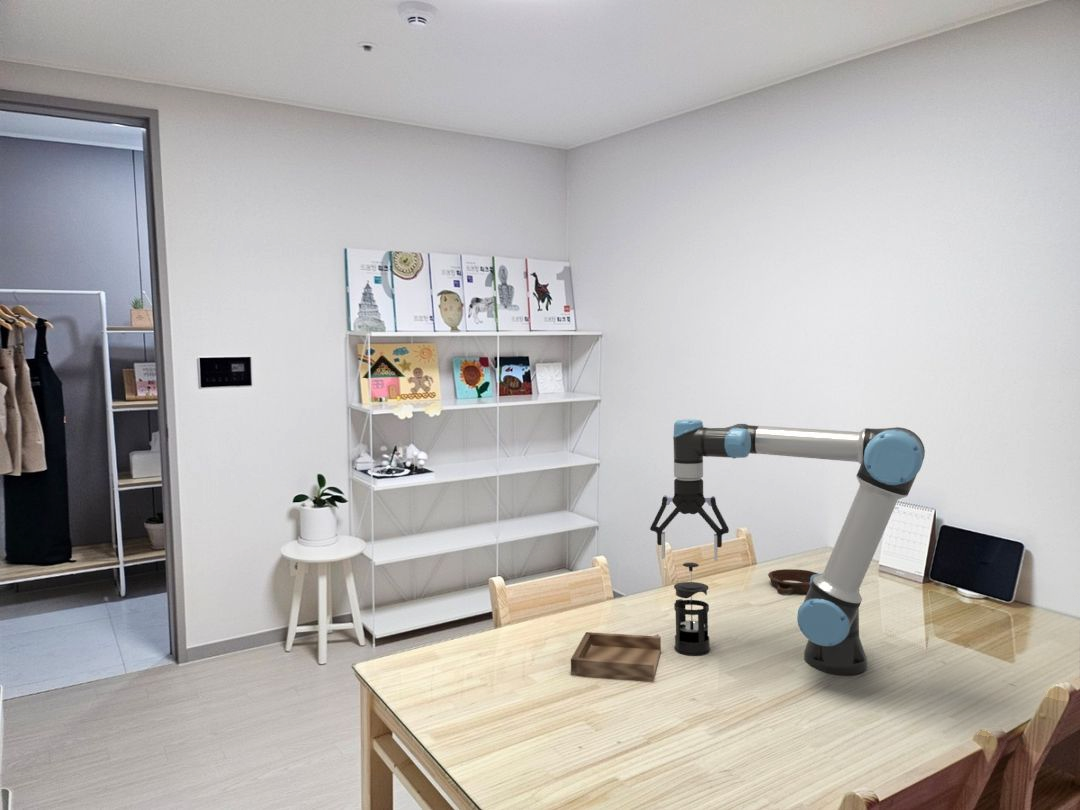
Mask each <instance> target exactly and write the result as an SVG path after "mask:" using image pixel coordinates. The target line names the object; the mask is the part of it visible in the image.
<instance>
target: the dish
mask: <svg viewBox="0 0 1080 810" xmlns="http://www.w3.org/2000/svg"><path fill="white" fill-rule="evenodd" d="M814 574H819V572H814V571H811V570H807V569H798V568H796V569H792V568H791V569H790V568H789V569H787V568H786V569H777V570H776V569H775V570H771V571H769V572H768V574H767V576H768V577H769V579H770V582H771V585H772V587H773V588H775V589H777V592H778V593H780V594H783V595H788V594H793V595H807V593H808V590H809V588H810V585H809V583H810V578H811V576H812V575H814Z"/></svg>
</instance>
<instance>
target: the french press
mask: <svg viewBox="0 0 1080 810" xmlns="http://www.w3.org/2000/svg"><path fill="white" fill-rule="evenodd" d="M682 566H683V567H685V568H688V571H689V579H690V580H689V581H682V582H679V583H676V584H675V583H674V585H673V589H675V595H676V596H677V597H678V598H680V599H675V602H674V607H673V608H674V612H675V635H674V647H673V648H674V651H675V652H676V653H677V654H680V655H683V656H684V655H685V656H690V657H694V656H695V657H699V656H705V655H707V654H709V653H710V652H711V647H710V636H709V630H708V629H709V625H708V622H709V621H708V614H709V613H708V612H709V611H710V605H709V603H708V602H705V601H702V600H698V599H693V596H694V595H695V594H698V593H703V594H704V595H705V596H707V595H708V590H709V586H708V585H707V584H705V583H702V582H695V581H693V579H692V578H693V576H692V572H693V571H694V570H693V569H694V568H697V567H699V566H700V565H699V563H696V562H684V563H683V564H682ZM689 605H690V609H686V606H689ZM693 606H700V607H702V608H700V609H693ZM686 616H690V620H687V618H686ZM693 616H697V620H693Z"/></svg>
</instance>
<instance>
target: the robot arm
mask: <svg viewBox="0 0 1080 810" xmlns="http://www.w3.org/2000/svg"><path fill="white" fill-rule="evenodd" d="M673 424H674V425H673V436H672V437H673V438H672V439H673V477H675V479H674V480H673V481H674V482H673V491H674V494H673V496H667V495H666V494H665V495H663V497H662V500H661V506H660V507H659V509H658V512H657V513H656V516H655V517H654V520H653V522H652V524H651V526H649V530H650V531H651V532H655V533H656V543H657V545H658V546H661V547H660V548H661V559H665V558H666V531H664V530H665V529H666V528H667V527H668V526H669V524H670V523H671V522H672V521H673V520H674V519H675V517H676V516H677V515H678V514H679V513H681V514H683V515H689V514H691V515H696V514H699V515H700V516H701V517H702V519H703V520H704V521H705V522H706V524H707V525H709V527H710V528H711V529H712V531H714V534H713V542H714V543H713V549H714V551H713V553H714V554H713V555H714V559H713V561H715V562H718V548H722V546H723V545H722V544H723V535H724V534H728V533H729V531H730V529H729V526H728V525H727V523H726V520H725V519H724V517H723V514H722V513H721V510H720V509H719V508H718V505H717V500H716V499H717V498H716V496H711V497H705V496H704V480H703V477H704V457H707V458H708V457H711V458H732V459H741V458H742V459H745V458H747V457H748V456H749V454H754V455H757V454H759V455H768V456H769V455H770V456H780V457H781V456H782V457H784V456H785V457H794V458H806V459H817V460H819V459H820V460H830V461H831V460H832V461H843V462H852V463H858V464H859V465H860V466H859V468H858V471H857V473H856V479H857V481H858V483H859V487H858V488H857V491H856V494H855V497H854V499H853V501H852V502H851V505H850V508H849V510H848V513H847V516H846V518H845V520H844V523H843V525H842V527H841V529H840V532H839V535H838V536H837V539H836V541H835V543H834V546H833V549H832V551H831V554H830V555H829V558H828V561H827V563H826V565H825V568H824V570H823V573H818V574H814V575H812V576H811V578H810V583H809V585H810V588H809V590H808V593H807V594H805V595H806V596H805V598H804V600H803V602H802V603H801V605H800V606H799V607H798V609H797V615H796V616H797V618H796V619H797V626H798V628H799V630H800V631H801V634H802V635H803V636H804V637H805V638H807V642H806V645H805V647H804V648H805V649H804V652H803V659H804V661H805V663H806V664H807V665H809V666H810V667H812V668H813V669H815V670H817V671H820V672H822V673H825V674H830V675H840V676H850V675H858V674H861V673H864V672H865V671H866V670H867V669H868V659H867V655H866V653H865V649H864V647H863V643H862V641H861V638H860V613H859V612H860V610H859V608H860V606H861V604H862V601H863V597H862V595H861V593H860V588H861V587H862V584H863V581H864V579H865V577H866V573H867V572H868V570H869V568H870V565H871V563H872V561H873V558H874V556H875V554H876V551H877V548H878V546H879V544H880V542H881V540H882V537H883V536H884V534H885V533H884V532H885V530H886V528H887V526H888V523H889V521H890V519H891V516H892V515H893V512H894V509H895V507H896V506H897V502H898V501H899V500H901V499H903V498H906V497H908V495H909V493H910V491H911V488H912V487H913V484H914V482H915V480H916V478H917V475H918V473H919V472H920V470H921V468H922V466H923V462H924V459H925V454H926V453H925V452H926V449H925V446H924V445H925V444H924V443H923V441H922V439H921V438H920V437H919V435H917V434H916V433H915V432H913V431H912V430H910V429H908V428H904V427H897V426H895V427H887V428H885V427H884V428H870V427H869V428H868V427H867V428H866V427H865V428H862V430H860V431H852V430H851V431H850V430H849V431H848V430H834V429H832V430H831V429H819V428H818V429H817V428H816V429H815V428H802V427H783V426H782V427H781V426H765V425H764V426H763V425H751V424H747V423H735V424H733V425H730V426H727V427H704V424H703V421H702V420H701V419H677V420H676V421H675V422H674V423H673ZM670 503H673V505H674V506H675V508H673V510H672V512H671V513H669V515H668V516H667V517H666V519H665V520H664V521H663V522H661V525H660V526H657V525H658V523H659V521H660V519H661V518H662V515H663V513H664V511H665V509H666V508H667V506H669V505H670ZM705 503H707V505H708V506H709V507H711V508H712V511H713V513H714V516H715V517H716V518H717V521H718V522H719V525H720V526H721V528H720V527H719V526H718V524H717V523H716V522H715V521H714V520H713V519H712V518H711V516H710V515H709V514H708V513H707V512H706V510H705V508H704V505H705Z"/></svg>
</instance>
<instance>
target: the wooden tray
mask: <svg viewBox="0 0 1080 810" xmlns="http://www.w3.org/2000/svg"><path fill="white" fill-rule="evenodd" d="M661 642H662V638H661V636H660V635H659V636H655V635H641V634H640V635H638V634H624V633H621V634H620V633H609V632H608V633H607V632H591V631H588V632H587V631H585V632H584V635H583V637H582V638H581V641H580V642H579V644H578V646H577V647H576V650H575V651H574V653H573V654H572V656H571V658H570V675H571V676H575V677H584V678H585V677H586V678H597V679H599V678H600V679H610V680H611V679H612V680H625V681H626V680H627V681H639V682H652V683H653V682H654V681H655V677H656V673H657V669H658V665H659V660H660V656H661V653H662V651H661V650H662V648H661V647H662V646H661V644H662V643H661Z"/></svg>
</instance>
